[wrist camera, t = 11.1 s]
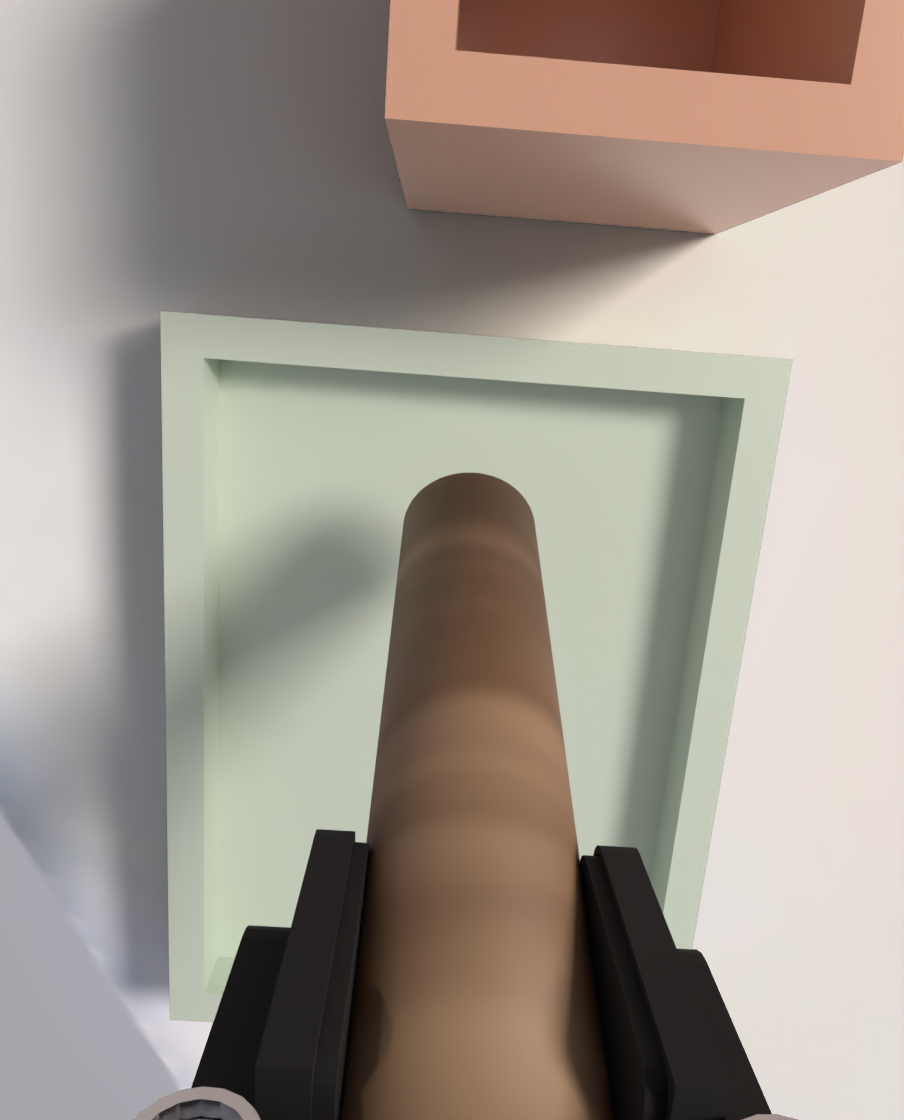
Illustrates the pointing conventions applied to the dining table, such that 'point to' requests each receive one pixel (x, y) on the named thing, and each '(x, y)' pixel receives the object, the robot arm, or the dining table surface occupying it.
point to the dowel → (472, 841)
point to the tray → (371, 575)
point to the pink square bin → (641, 106)
